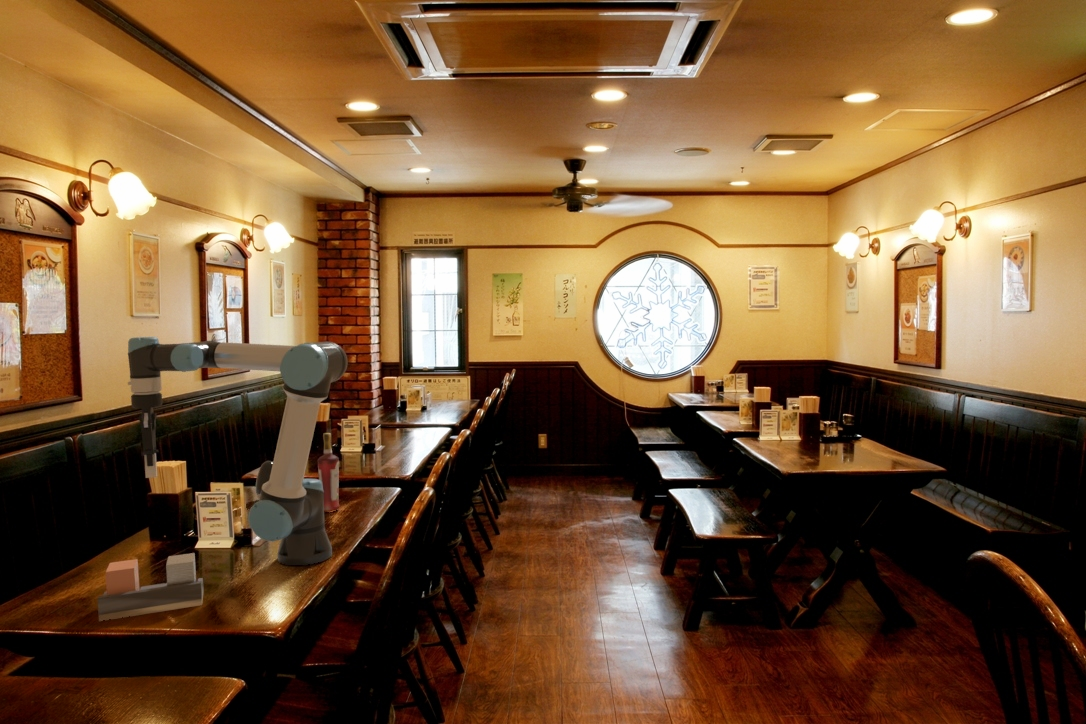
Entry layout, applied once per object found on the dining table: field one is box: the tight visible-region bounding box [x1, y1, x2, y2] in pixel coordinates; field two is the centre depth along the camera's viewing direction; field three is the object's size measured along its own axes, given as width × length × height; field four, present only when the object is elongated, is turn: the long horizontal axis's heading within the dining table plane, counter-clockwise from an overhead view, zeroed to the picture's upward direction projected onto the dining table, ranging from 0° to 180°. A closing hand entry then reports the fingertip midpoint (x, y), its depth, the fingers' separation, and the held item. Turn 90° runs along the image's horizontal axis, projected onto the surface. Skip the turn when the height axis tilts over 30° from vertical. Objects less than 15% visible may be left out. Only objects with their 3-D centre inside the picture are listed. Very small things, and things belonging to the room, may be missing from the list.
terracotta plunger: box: [105, 558, 140, 595], centre depth 181 cm, size 7×6×9 cm
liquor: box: [317, 432, 341, 511], centre depth 263 cm, size 7×7×28 cm
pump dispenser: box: [255, 460, 273, 499], centre depth 280 cm, size 10×10×15 cm
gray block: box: [165, 552, 197, 586], centre depth 184 cm, size 7×6×9 cm
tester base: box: [97, 577, 204, 622], centre depth 182 cm, size 10×22×6 cm, turn 113°
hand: (151, 476), depth 206 cm, fingers closed
